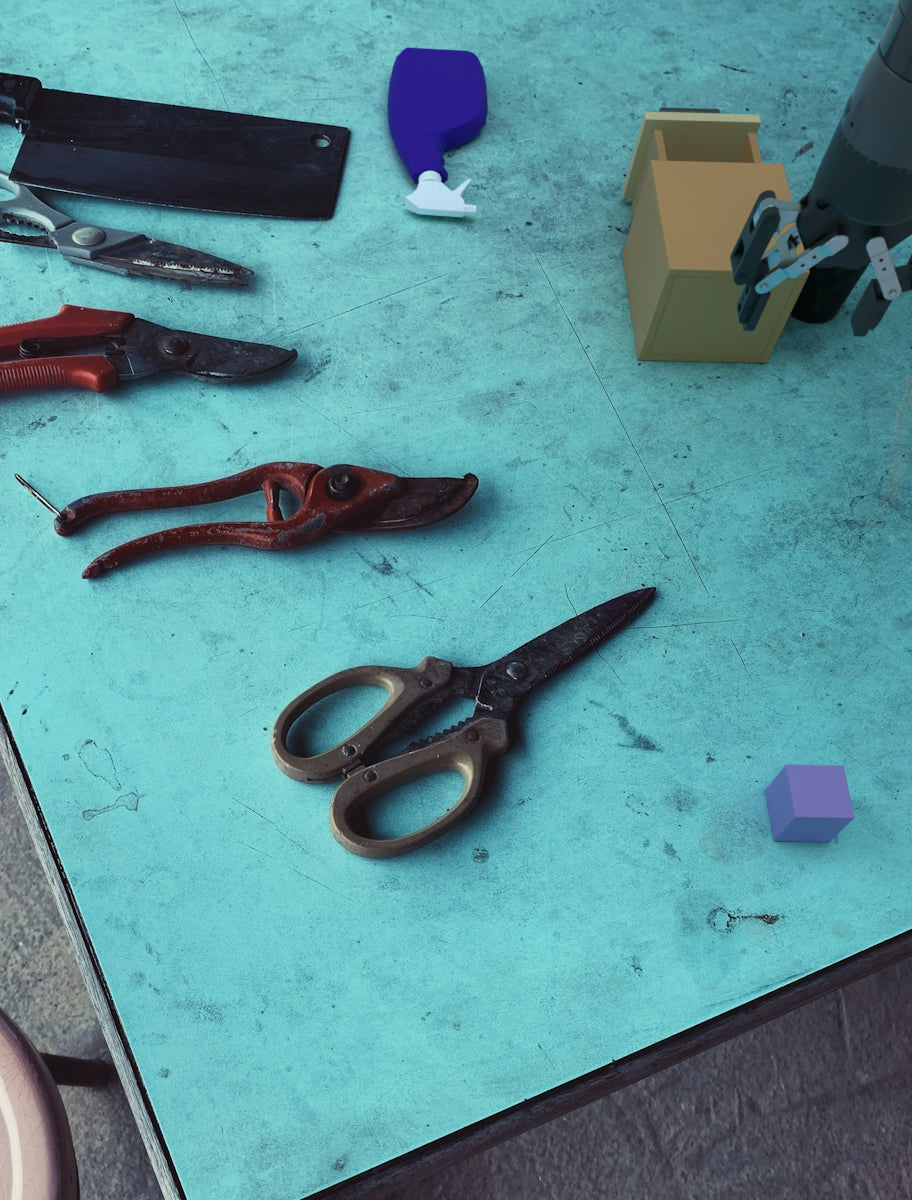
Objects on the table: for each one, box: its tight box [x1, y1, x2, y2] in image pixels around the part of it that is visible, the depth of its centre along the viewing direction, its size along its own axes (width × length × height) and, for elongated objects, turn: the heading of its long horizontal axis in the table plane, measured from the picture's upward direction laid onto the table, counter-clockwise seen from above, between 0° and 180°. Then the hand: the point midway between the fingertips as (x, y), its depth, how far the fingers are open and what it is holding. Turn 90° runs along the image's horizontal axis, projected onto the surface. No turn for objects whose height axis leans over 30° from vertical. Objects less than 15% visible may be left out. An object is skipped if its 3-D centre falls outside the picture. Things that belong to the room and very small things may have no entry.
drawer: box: [621, 106, 764, 217], centre depth 119 cm, size 18×11×9 cm, turn 0°
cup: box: [790, 250, 871, 325], centre depth 114 cm, size 8×8×12 cm
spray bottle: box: [387, 47, 489, 218], centre depth 128 cm, size 3×11×24 cm
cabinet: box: [621, 160, 810, 364], centre depth 114 cm, size 15×13×11 cm
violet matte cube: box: [764, 764, 855, 843], centre depth 93 cm, size 4×4×4 cm
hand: (801, 326), depth 92 cm, fingers open, 8 cm apart
